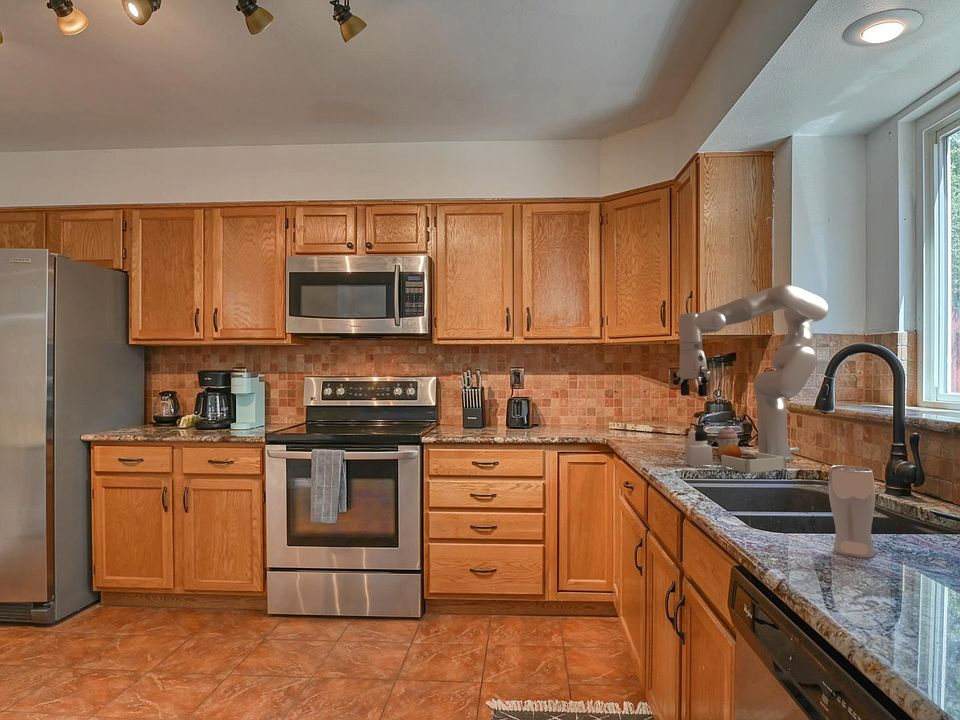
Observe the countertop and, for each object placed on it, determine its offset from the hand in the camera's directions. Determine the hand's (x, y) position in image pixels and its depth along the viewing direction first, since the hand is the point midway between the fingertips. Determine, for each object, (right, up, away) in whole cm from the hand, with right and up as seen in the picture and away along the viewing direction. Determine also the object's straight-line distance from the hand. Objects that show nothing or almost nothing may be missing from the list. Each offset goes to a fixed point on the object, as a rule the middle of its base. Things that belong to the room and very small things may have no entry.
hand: (693, 395), depth 199 cm
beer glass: (-9, -22, -99) cm, 102 cm away
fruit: (+11, -24, -4) cm, 26 cm away
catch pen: (+14, -23, -15) cm, 31 cm away
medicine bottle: (-1, -24, -6) cm, 25 cm away
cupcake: (+24, -24, +26) cm, 42 cm away
